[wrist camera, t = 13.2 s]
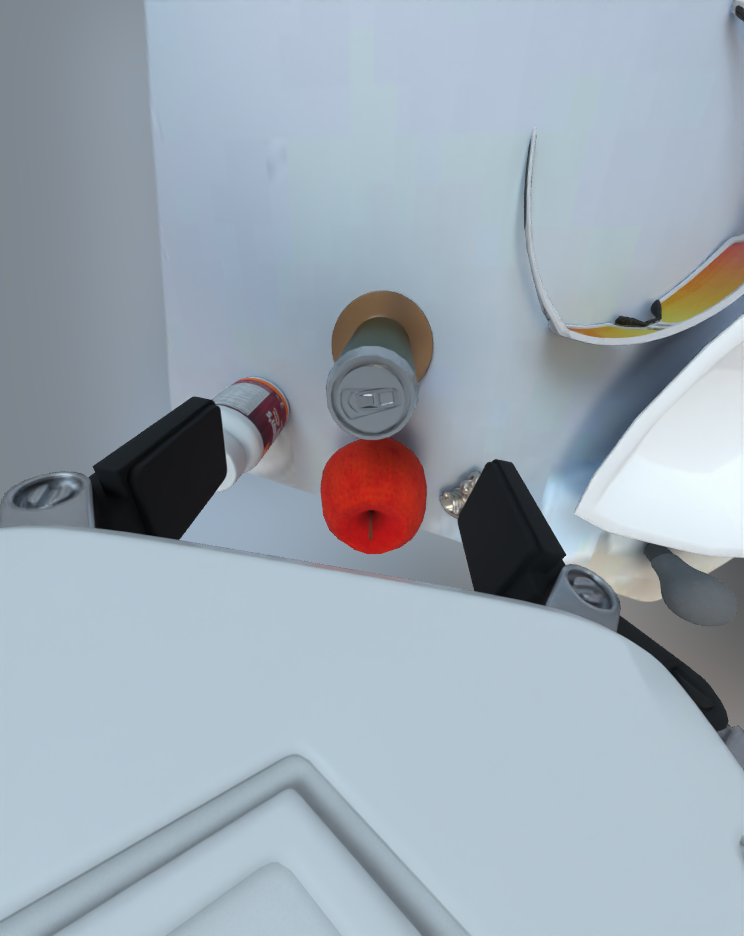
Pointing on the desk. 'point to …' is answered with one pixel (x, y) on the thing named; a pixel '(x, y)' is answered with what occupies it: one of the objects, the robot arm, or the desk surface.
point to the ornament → (459, 495)
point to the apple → (374, 495)
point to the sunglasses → (691, 302)
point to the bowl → (681, 460)
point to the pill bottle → (249, 423)
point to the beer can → (374, 381)
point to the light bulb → (691, 590)
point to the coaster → (394, 309)
